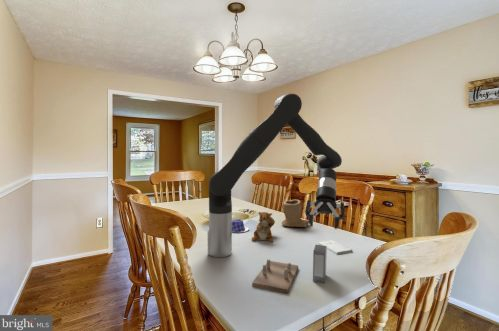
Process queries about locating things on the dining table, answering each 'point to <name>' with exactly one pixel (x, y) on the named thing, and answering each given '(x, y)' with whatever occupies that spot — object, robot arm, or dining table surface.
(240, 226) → the pudding
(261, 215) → the stuffed squirrel
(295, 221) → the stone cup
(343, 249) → the external hard drive
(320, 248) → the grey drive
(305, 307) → the dining table surface
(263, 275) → the wooden peg stand
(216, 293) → the dining table surface
